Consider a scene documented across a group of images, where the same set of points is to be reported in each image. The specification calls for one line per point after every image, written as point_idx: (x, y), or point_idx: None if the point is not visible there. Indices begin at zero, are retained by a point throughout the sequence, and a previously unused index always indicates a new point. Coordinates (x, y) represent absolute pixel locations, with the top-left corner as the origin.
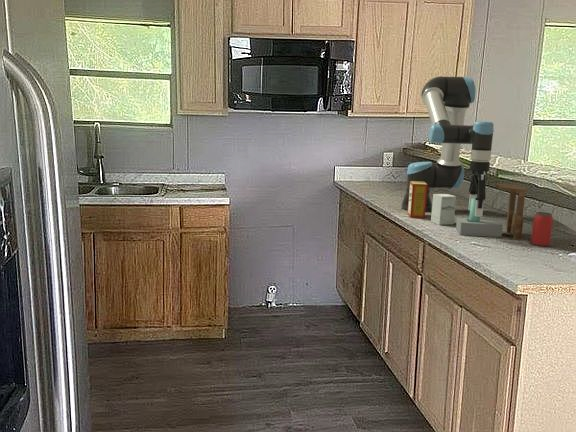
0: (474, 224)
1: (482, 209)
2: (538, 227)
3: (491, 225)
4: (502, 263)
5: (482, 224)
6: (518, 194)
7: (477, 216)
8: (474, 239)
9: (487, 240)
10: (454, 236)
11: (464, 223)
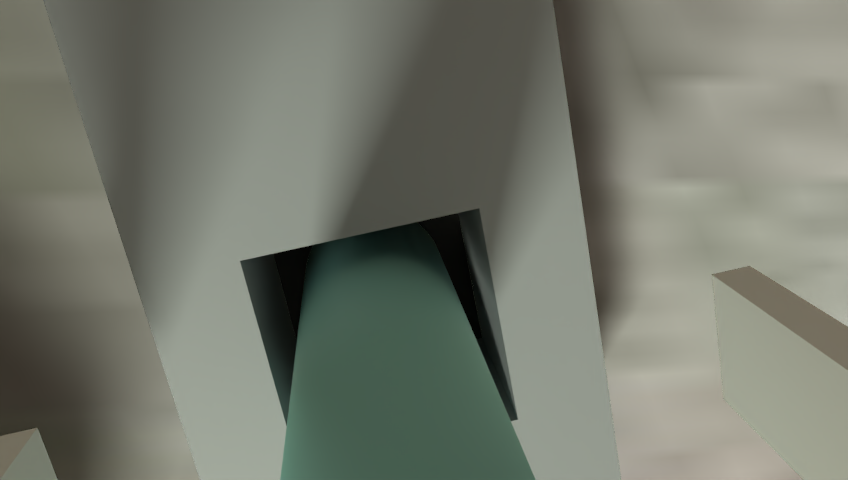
0: (591, 321)
1: (842, 332)
2: None
3: (552, 49)
4: None
5: (580, 203)
6: None
7: (475, 338)
8: (764, 241)
9: (767, 82)
10: (683, 463)
11: (615, 462)
